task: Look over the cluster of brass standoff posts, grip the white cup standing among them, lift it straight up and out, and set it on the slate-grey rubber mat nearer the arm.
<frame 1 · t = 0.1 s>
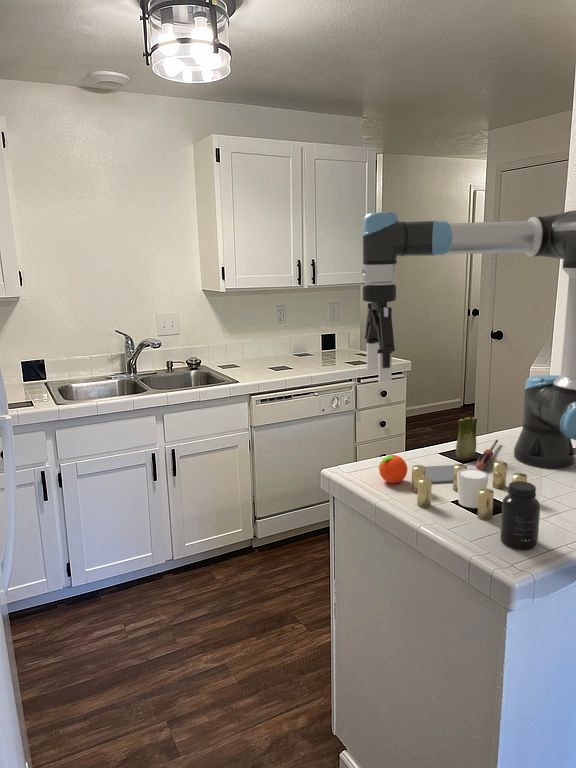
hand: (378, 375, 135), 28 cm above the table, tool pointing down, fingers open, 13 cm apart
screwdriver: (488, 458, 160), on the table
fennel bulb: (465, 460, 158), on the table
clementine: (391, 483, 144), on the table
white cup: (471, 503, 132), on the table
supplement bottle: (518, 543, 113), on the table
spacer field: (471, 502, 131), on the table
slate mat: (442, 475, 148), on the table
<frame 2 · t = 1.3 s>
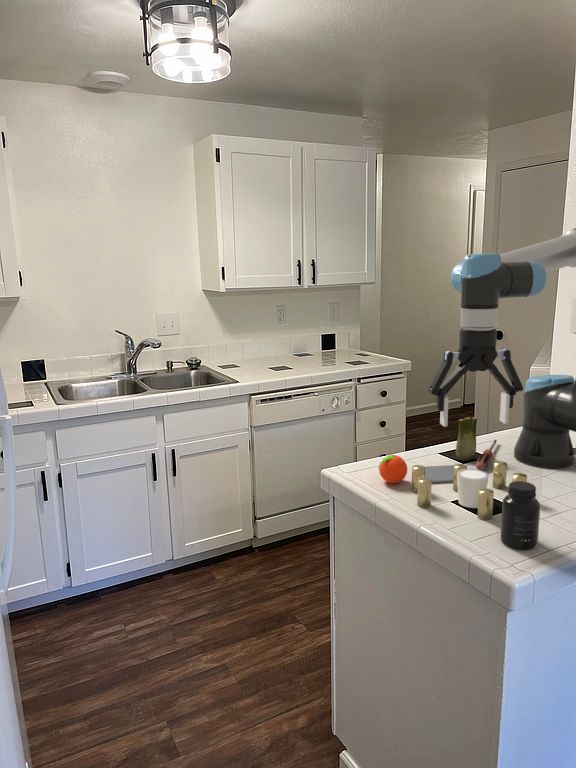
hand: (473, 423, 128), 19 cm above the table, tool pointing down, fingers open, 13 cm apart
nothing on the table moved.
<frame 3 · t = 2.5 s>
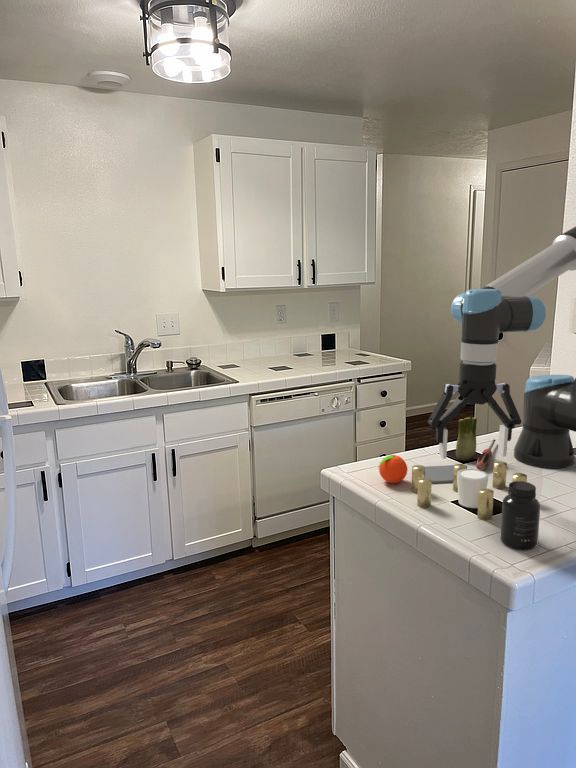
hand: (472, 455, 129), 11 cm above the table, tool pointing down, fingers open, 13 cm apart
nothing on the table moved.
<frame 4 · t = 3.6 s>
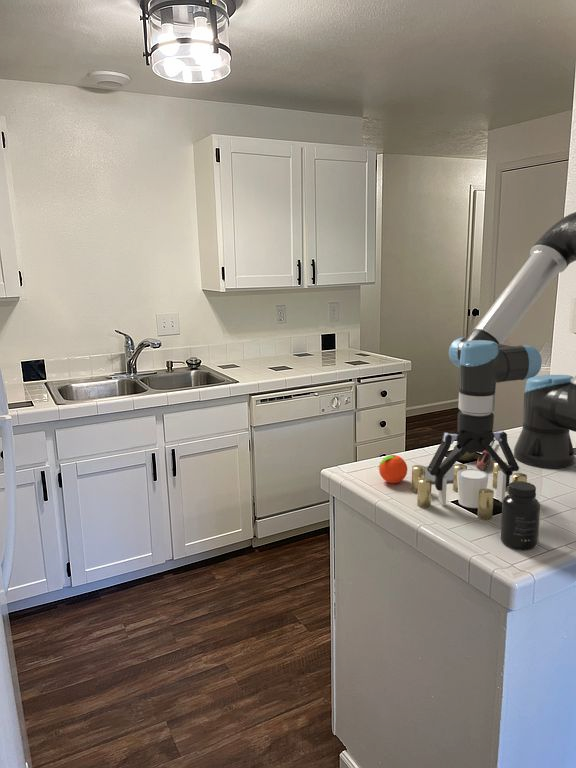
hand: (471, 501, 131), 0 cm above the table, tool pointing down, fingers open, 13 cm apart
nothing on the table moved.
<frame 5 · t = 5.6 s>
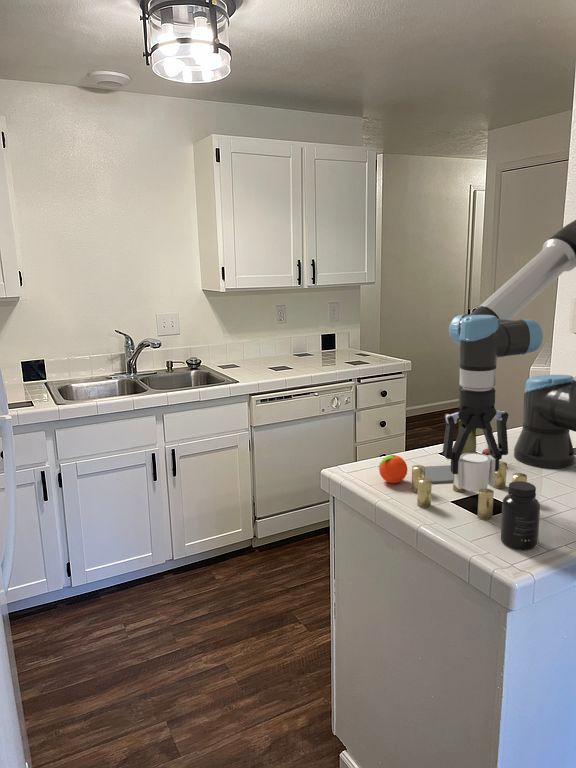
hand: (474, 485, 131), 4 cm above the table, tool pointing down, fingers closed on white cup, 7 cm apart
white cup: (474, 487, 131), point 4 cm above the table, touching gripper
everything else where it was.
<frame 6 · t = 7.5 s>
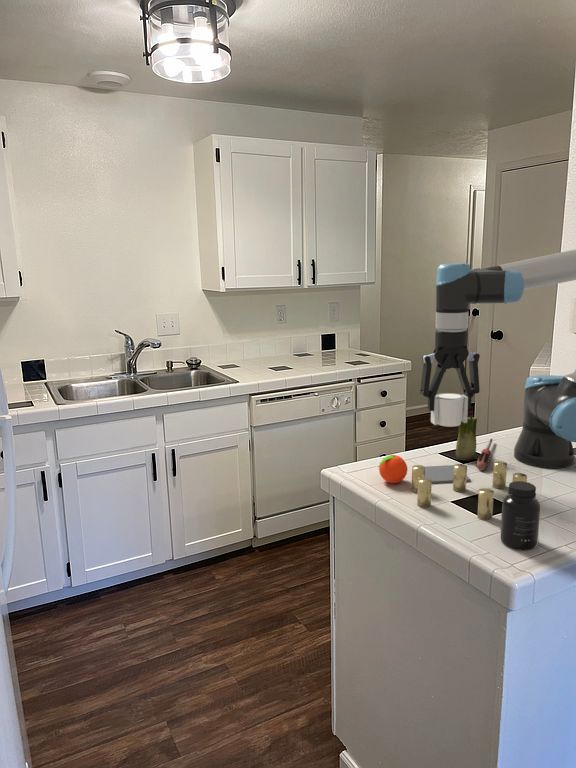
hand: (448, 422, 143), 15 cm above the table, tool pointing down, fingers closed on white cup, 7 cm apart
white cup: (449, 424, 143), point 14 cm above the table, touching gripper
everything else where it was.
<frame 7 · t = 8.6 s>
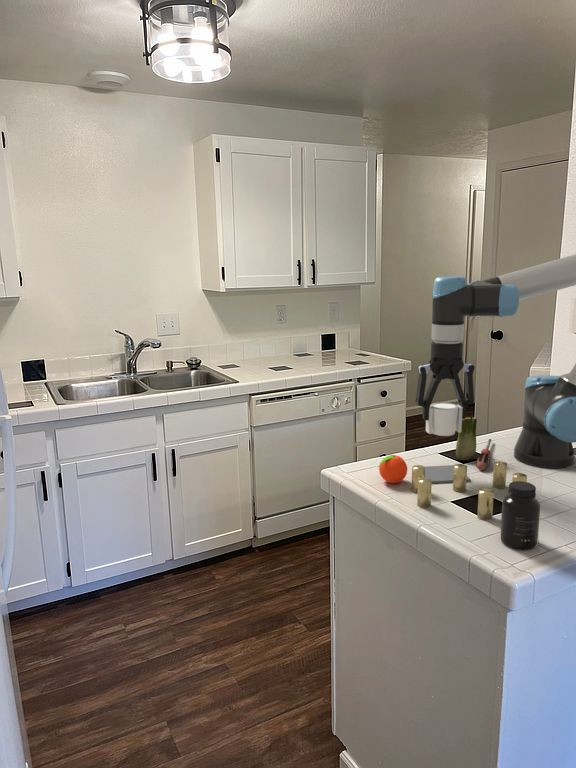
hand: (443, 431, 145), 12 cm above the table, tool pointing down, fingers closed on white cup, 7 cm apart
white cup: (443, 433, 146), point 11 cm above the table, touching gripper
when the fingers open (1 cm above the table, at t = 10.7 s): white cup stays where it is, resting on slate mat.
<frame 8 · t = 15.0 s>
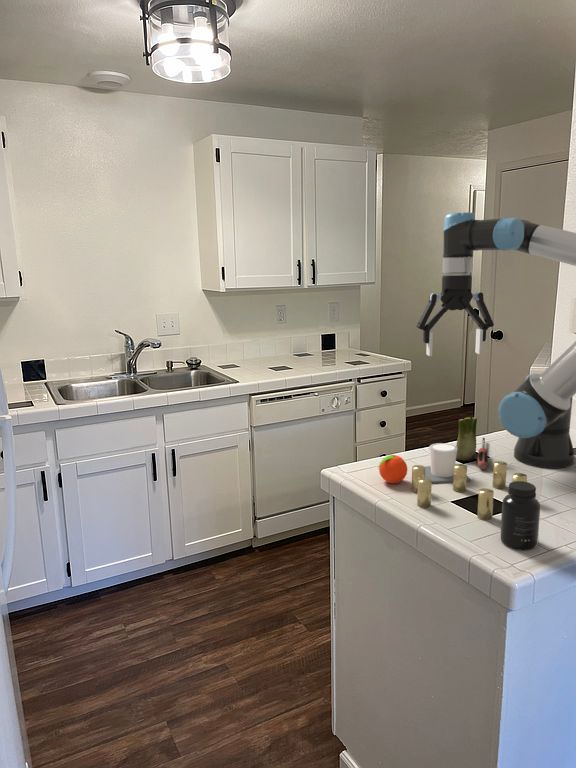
hand: (453, 354, 156), 29 cm above the table, tool pointing down, fingers open, 13 cm apart
white cup: (442, 473, 148), resting on slate mat
at the end: white cup inside the target area on the slate mat (0.1 cm from its centre), point 0.4 cm above the slate mat's base; white cup tilted 0°; the gripper is holding nothing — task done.
